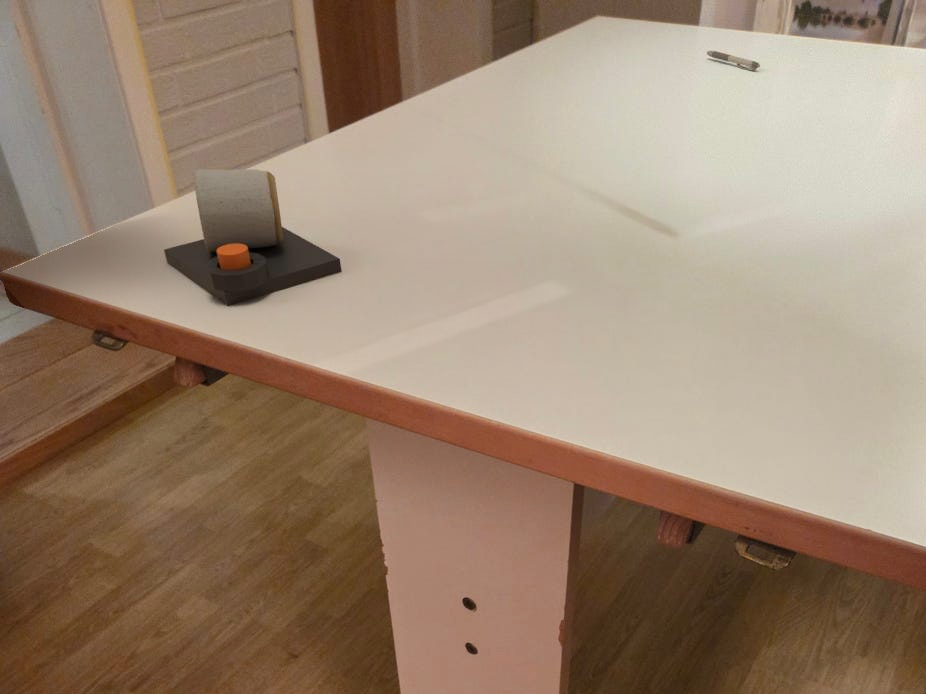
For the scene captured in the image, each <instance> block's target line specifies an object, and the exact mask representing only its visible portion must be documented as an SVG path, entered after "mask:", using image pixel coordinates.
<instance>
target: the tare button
mask: <svg viewBox="0 0 926 694" xmlns="http://www.w3.org/2000/svg"><path fill="white" fill-rule="evenodd" d="M217 256H218V260H219V264H220V269H222V270H228V271H229V270H240V269H243V268H247V267H249V266H251V261H250V256H249V251H248V247H247V246H246V245H244V244H237V243H235V244H227V245H224V246H221V247H219V248H218V249H217Z"/></svg>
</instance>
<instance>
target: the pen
mask: <svg viewBox="0 0 926 694" xmlns="http://www.w3.org/2000/svg"><path fill="white" fill-rule="evenodd" d="M706 55H707V56H708V57H711V58H713V59H717V60H721V61H724V62H729V63H734V64H736V66H737V67H738V68H740V69H742V70H747V71H756V70H757V69H758V68H761V64H760V62H758V61H754V60H751V59H747V58H743V57H739V56H735V55H732V54H728V53H724V52H720V51H716V50H708V51H706Z"/></svg>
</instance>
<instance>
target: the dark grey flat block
mask: <svg viewBox="0 0 926 694" xmlns="http://www.w3.org/2000/svg"><path fill="white" fill-rule="evenodd" d="M282 232H283V239H282V241H281V242H280V243H279V244H277V245H273V246H270V247H262V248H250V249H248V251H249V256H250V261H251V266H249V267H247V268H243V269H240V270H229V271H228V270H222V269H220V264H219V260H218V256H217V252H213V253H211V252H208V250H207V248H206V245H205V240H204V238H203V239H199V240H195V241H192V242H187V243H184V244H179V245H176V246H172V247H168V248H164V249H163V252H164V255H165V256H164V257H165V259H166V262H167V264H169V265H170V266H171V267H173V268H174V269H176V270H177V271H178V272H180V273H181V274H182V275H184V276H185V277H187V278H188V279H189V280H191V281H192V282H193V283H195V284H196V285H198V286H199V287H200V288H202V289H203V290H204V291H206V292H208V293H209V294H210V295H212V296H213V297H214V298H216V299H217V300H218V301H220V302H221V303H222V304H224V305H225V306H227V307H230V306H233V305H236V304H241V303H242V302H247V301H249V300H252V299H256V298H259V297H263V296H266V295H269V294H272V293H277V292H280V291H283V290H286V289H290V288H292V287H296V286H299V285H302V284H306V283H309V282H313V281H315V280H319V279H322V278H325V277H329V276H332V275H335V274H339V273H342V265H341V259H340V258H339V257H338V256H336V255H334V254H332V253H331V252H329V251H327V250H325V249H323V248H322V247H319V246H318V245H316V244H315V243H313V242H310V241H309V240H307V239H305V238H303V237H302V236H300V235H298V234H297V233H294V232H292V231H291V230H290V229H287V228H285V227H283V226H282Z"/></svg>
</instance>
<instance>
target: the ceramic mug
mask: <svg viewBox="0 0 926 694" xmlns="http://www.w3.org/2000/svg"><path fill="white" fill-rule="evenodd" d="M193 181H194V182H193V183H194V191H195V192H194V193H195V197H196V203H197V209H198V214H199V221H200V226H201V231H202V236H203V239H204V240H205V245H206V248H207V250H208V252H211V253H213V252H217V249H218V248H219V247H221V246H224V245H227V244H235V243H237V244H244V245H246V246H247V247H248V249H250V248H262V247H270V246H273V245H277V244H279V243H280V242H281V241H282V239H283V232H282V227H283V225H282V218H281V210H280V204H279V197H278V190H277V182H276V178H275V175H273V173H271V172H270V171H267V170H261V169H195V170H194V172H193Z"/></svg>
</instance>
